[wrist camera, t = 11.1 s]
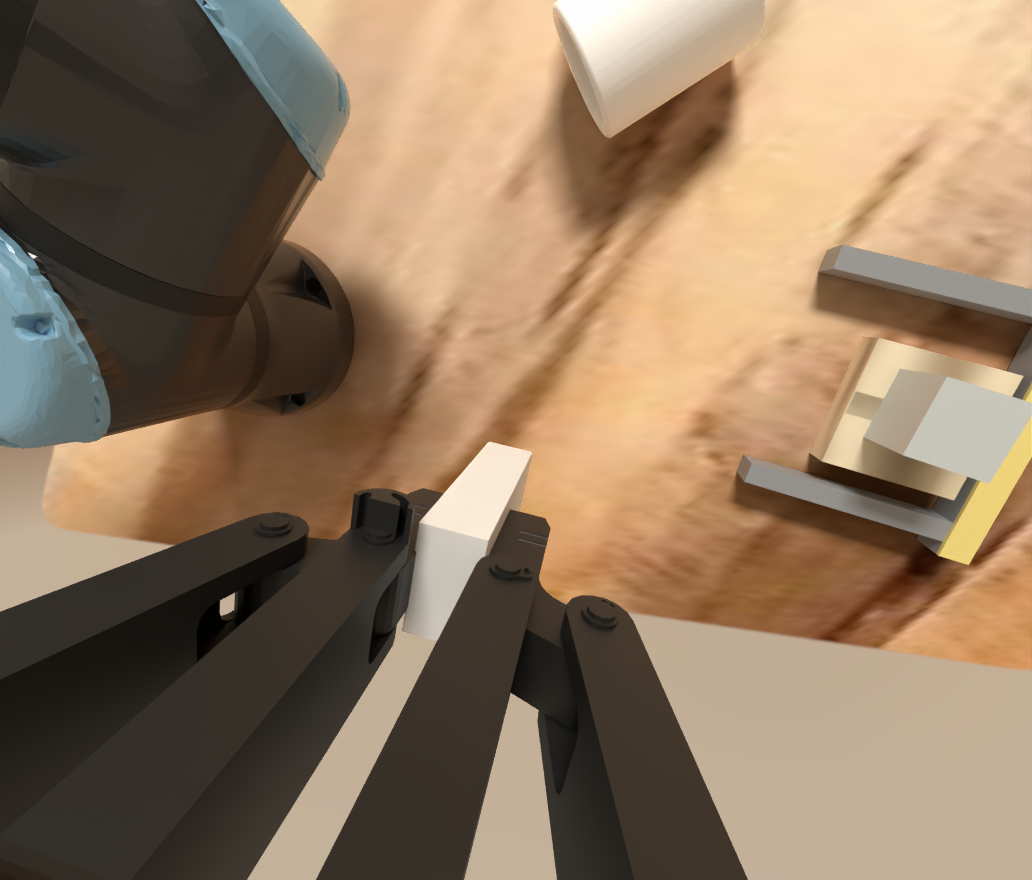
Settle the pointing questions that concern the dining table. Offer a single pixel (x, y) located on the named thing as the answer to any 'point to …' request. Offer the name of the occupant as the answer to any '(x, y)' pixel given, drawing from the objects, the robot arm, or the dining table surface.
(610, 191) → the dining table surface
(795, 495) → the dock
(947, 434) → the light grey cube
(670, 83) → the mug
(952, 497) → the pallet
